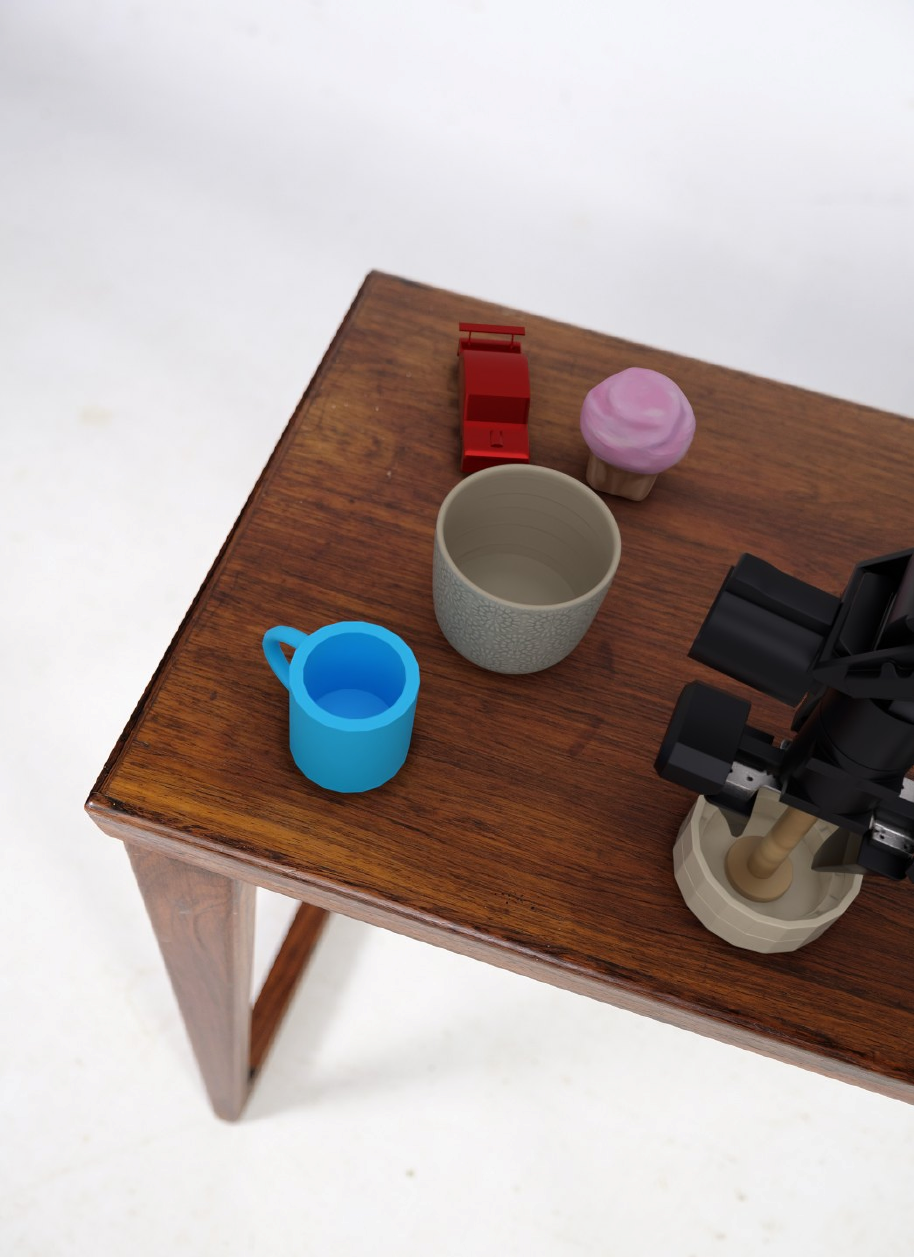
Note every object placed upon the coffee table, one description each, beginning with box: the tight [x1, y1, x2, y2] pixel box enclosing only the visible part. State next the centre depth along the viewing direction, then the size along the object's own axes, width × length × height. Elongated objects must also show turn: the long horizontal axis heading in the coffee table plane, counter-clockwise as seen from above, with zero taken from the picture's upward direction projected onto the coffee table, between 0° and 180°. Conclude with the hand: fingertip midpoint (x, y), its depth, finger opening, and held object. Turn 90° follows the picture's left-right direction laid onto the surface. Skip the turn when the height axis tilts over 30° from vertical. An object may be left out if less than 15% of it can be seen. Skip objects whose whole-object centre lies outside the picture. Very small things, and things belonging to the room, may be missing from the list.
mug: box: [262, 620, 421, 794], centre depth 78 cm, size 12×8×8 cm
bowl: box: [672, 788, 864, 954], centre depth 77 cm, size 11×11×5 cm
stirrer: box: [724, 806, 819, 903], centre depth 74 cm, size 4×4×11 cm
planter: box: [432, 464, 622, 675], centre depth 83 cm, size 12×12×11 cm
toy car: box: [456, 321, 531, 474], centre depth 98 cm, size 14×6×5 cm, turn 1°
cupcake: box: [579, 366, 697, 502], centre depth 93 cm, size 9×9×10 cm
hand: (775, 846), depth 75 cm, fingers open, 5 cm apart
